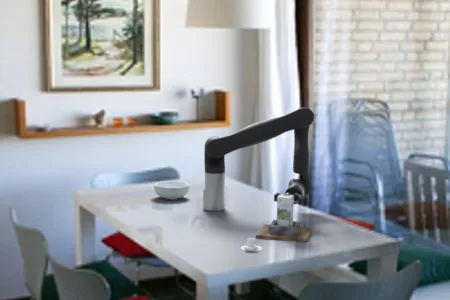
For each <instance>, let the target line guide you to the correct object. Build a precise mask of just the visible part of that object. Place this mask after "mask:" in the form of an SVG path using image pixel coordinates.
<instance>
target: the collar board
mask: <svg viewBox="0 0 450 300" xmlns="http://www.w3.org/2000/svg"><path fill="white" fill-rule="evenodd" d="M312 232H313V227H307V226H302V225H301V221H297V220H296V221H295V220H293V227H286V226H277V219H273V220H272V221H271V223H270V224H267V223H266V224H265V223H264V224H263V225H262V226H261V227H260V229H259V230H258V232H257V233H256V234H255V239H264V240H275V241H276V240H280V241H290V242H302V241H307V240H309V238H310V236H311V235H312ZM307 242H308V241H307Z"/></svg>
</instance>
